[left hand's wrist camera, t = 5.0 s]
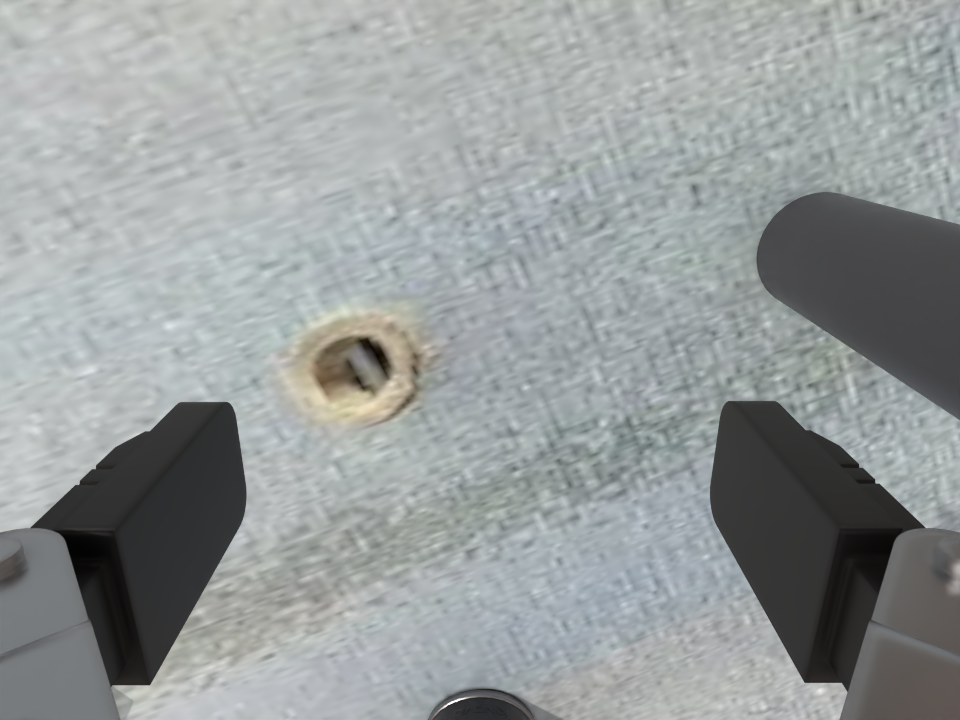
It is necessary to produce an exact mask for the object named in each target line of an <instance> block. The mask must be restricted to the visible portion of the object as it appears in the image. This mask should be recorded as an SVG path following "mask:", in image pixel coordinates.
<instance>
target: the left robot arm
mask: <svg viewBox="0 0 960 720" xmlns="http://www.w3.org/2000/svg"><path fill="white" fill-rule="evenodd" d="M710 502H711V509H712V514H713V518H714V520H715V523H716V525H717V527H718V529H719V530H720V532H721V534H722V536H723V538H724V539H725V541H726V543H727V545H728V546H729V548H730V550H731V552H732V554H733V555H734V557H735V559H736V561H737V563H738V564H739V566H740V568H741V570H742V572H743V573H744V575H745V577H746V579H747V580H748V582H749V584H750V586H751V588H752V589H753V591H754V593H755V595H756V597H757V598H758V600H759V602H760V604H761V605H762V607H763V609H764V611H765V613H766V614H767V616H768V618H769V620H770V622H771V623H772V625H773V627H774V629H775V631H776V632H777V634H778V636H779V638H780V639H781V641H782V643H783V645H784V647H785V648H786V650H787V652H788V654H789V656H790V657H791V659H792V661H793V663H794V665H795V666H796V668H797V670H798V672H799V673H800V675H801V677H802V679H803V681H804V682H805V683H842V684H843V685H844V687H845V688H846V690H847V692H848V693H847V697H846V700H845V703H844V707H843V710H842V713H841V717H840V720H960V533H959V532H955V531H949V530H944V529H935V528H925V527H924V526H923V525H922V524H921V523H920V522H919V521H918V520H917V519H916V518H915V517H914V516H913V515H912V514H911V513H909V512H908V511H907V510H906V509H905V508H904V507H903V506H902V505H901V504H900V503H899V502H898V501H897V500H896V499H895V498H894V497H893V496H892V495H891V494H890V493H889V492H887V491H886V490H885V489H884V488H883V487H882V486H881V485H880V484H876V483H875V479H874V478H873V477H872V476H871V475H870V474H869V473H868V472H867V471H866V470H864V469H863V468H859V464H858V463H857V462H856V461H855V460H854V459H853V458H852V457H851V456H850V455H849V454H848V453H847V452H846V451H845V450H844V449H843V448H841V447H840V446H839V445H837V444H835V443H833V442H831V441H830V440H828V439H826V438H824V437H822V436H820V435H818V434H816V433H814V432H813V431H811V430H805V429H804V428H803V427H802V426H801V425H800V424H799V423H798V422H797V421H796V420H795V419H794V418H793V417H792V416H791V415H790V414H789V413H788V412H787V411H786V410H785V409H784V408H783V407H782V406H781V405H780V404H779V403H778V402H776V401H728V402H727V403H726V404H725V405H724V407H723V409H722V412H721V416H720V422H719V429H718V436H717V443H716V450H715V457H714V464H713V471H712V478H711V485H710ZM245 507H246V483H245V476H244V469H243V462H242V455H241V448H240V441H239V434H238V428H237V421H236V415H235V412H234V409H233V407H232V405H231V404H230V403H228V402H180V403H178V404H177V405H176V406H175V407H174V408H173V409H172V410H171V411H170V412H169V413H168V414H167V415H166V416H165V417H164V418H163V419H162V420H161V421H160V422H159V423H158V424H157V425H156V426H155V427H154V428H153V429H152V430H151V431H150V432H143V433H141V434H140V435H138V436H136V437H134V438H132V439H130V440H128V441H126V442H124V443H123V444H121V445H119V446H117V447H115V448H114V449H113V450H112V451H111V452H110V453H109V454H108V455H107V456H106V457H105V458H104V459H103V460H102V461H100V462H99V463H98V464H97V465H96V469H92V470H91V471H90V472H89V473H88V474H87V475H86V476H85V477H84V478H83V479H81V480H80V485H75V486H74V487H73V488H72V489H71V490H70V491H69V492H68V493H67V494H66V495H65V496H64V497H62V498H61V499H60V500H59V501H58V502H57V503H56V504H55V505H54V506H53V507H52V508H51V509H50V510H49V511H48V512H47V513H46V514H45V515H43V516H42V517H41V518H40V519H39V520H38V521H37V522H36V523H35V524H34V525H33V526H32V527H31V528H25V529H16V530H11V531H5V532H1V533H0V720H120V717H119V713H118V710H117V707H116V703H115V700H114V697H113V693H112V690H111V686H112V685H150V684H151V682H152V681H153V679H154V677H155V675H156V674H157V672H158V670H159V668H160V667H161V665H162V663H163V661H164V659H165V658H166V656H167V654H168V652H169V651H170V649H171V647H172V645H173V644H174V642H175V640H176V638H177V636H178V635H179V633H180V631H181V629H182V628H183V626H184V624H185V622H186V621H187V619H188V617H189V615H190V614H191V612H192V610H193V608H194V606H195V605H196V603H197V601H198V599H199V598H200V596H201V594H202V592H203V591H204V589H205V587H206V585H207V583H208V582H209V580H210V578H211V576H212V575H213V573H214V571H215V569H216V568H217V566H218V564H219V562H220V561H221V559H222V557H223V555H224V553H225V552H226V550H227V548H228V546H229V545H230V543H231V541H232V539H233V538H234V536H235V534H236V532H237V530H238V529H239V527H240V525H241V523H242V520H243V517H244V513H245ZM428 720H534V718H533V716H532V714H531V713H530V711H529V710H528V708H527V707H526V706H525V705H524V704H522V703H521V702H520V701H518V700H517V699H515V698H513V697H511V696H509V695H507V694H504V693H501V692H497V691H492V690H471V691H465V692H461V693H458V694H455V695H453V696H451V697H449V698H447V699H445V700H444V701H443V702H441V703H440V704H439V705H438V706H437V707H436V708H435V709H434V710H433V712H432V713H431V715H430V717H429V719H428Z"/></svg>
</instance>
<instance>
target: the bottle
mask: <svg viewBox="0 0 960 720" xmlns="http://www.w3.org/2000/svg"><path fill="white" fill-rule="evenodd" d="M757 267H758V272H759V276H760V278H761V281H762V283H763V284H764V286H765V288H766V289H767V290H768V291H769V293H770V294H772V295H773V296H774V297H775V298H777V299H778V300H780V301H781V302H783V303H784V304H786V305H787V306H789V307H790V308H792V309H793V310H795V311H796V312H798V313H799V314H801V315H802V316H804V317H805V318H807V319H808V320H810V321H811V322H813V323H814V324H816V325H817V326H819V327H820V328H822V329H823V330H825V331H826V332H828V333H829V334H831V335H832V336H834V337H835V338H837V339H838V340H840V341H841V342H843V343H844V344H846V345H847V346H849V347H850V348H852V349H853V350H855V351H856V352H858V353H859V354H861V355H862V356H864V357H865V358H867V359H868V360H870V361H871V362H873V363H875V364H876V365H878V366H879V367H881V368H882V369H884V370H885V371H887V372H888V373H890V374H891V375H893V376H894V377H896V378H897V379H899V380H900V381H902V382H903V383H905V384H906V385H908V386H909V387H911V388H912V389H914V390H915V391H917V392H918V393H920V394H921V395H923V396H924V397H926V398H927V399H929V400H930V401H932V402H933V403H935V404H936V405H938V406H939V407H941V408H942V409H944V410H945V411H947V412H948V413H950V414H951V415H953V416H954V417H956V418H957V419H959V420H960V225H959V224H955V223H951V222H947V221H943V220H939V219H935V218H931V217H928V216H924V215H920V214H916V213H912V212H908V211H904V210H900V209H896V208H892V207H888V206H885V205H881V204H877V203H873V202H869V201H865V200H861V199H857V198H853V197H849V196H846V195H842V194H837V193H830V192H822V193H814V194H810V195H807V196H804V197H801V198H799V199H797V200H795V201H793V202H791V203H790V204H789V205H787V206H786V207H784V208H783V209H782V210H781V211H780V212H778V214H777V215H776V216H775V217H774V218H773V219H772V220H771V222H770V223H769V224H768V226H767V227H766V229H765V231H764V233H763V235H762V237H761V240H760V243H759V247H758V253H757Z"/></svg>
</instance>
